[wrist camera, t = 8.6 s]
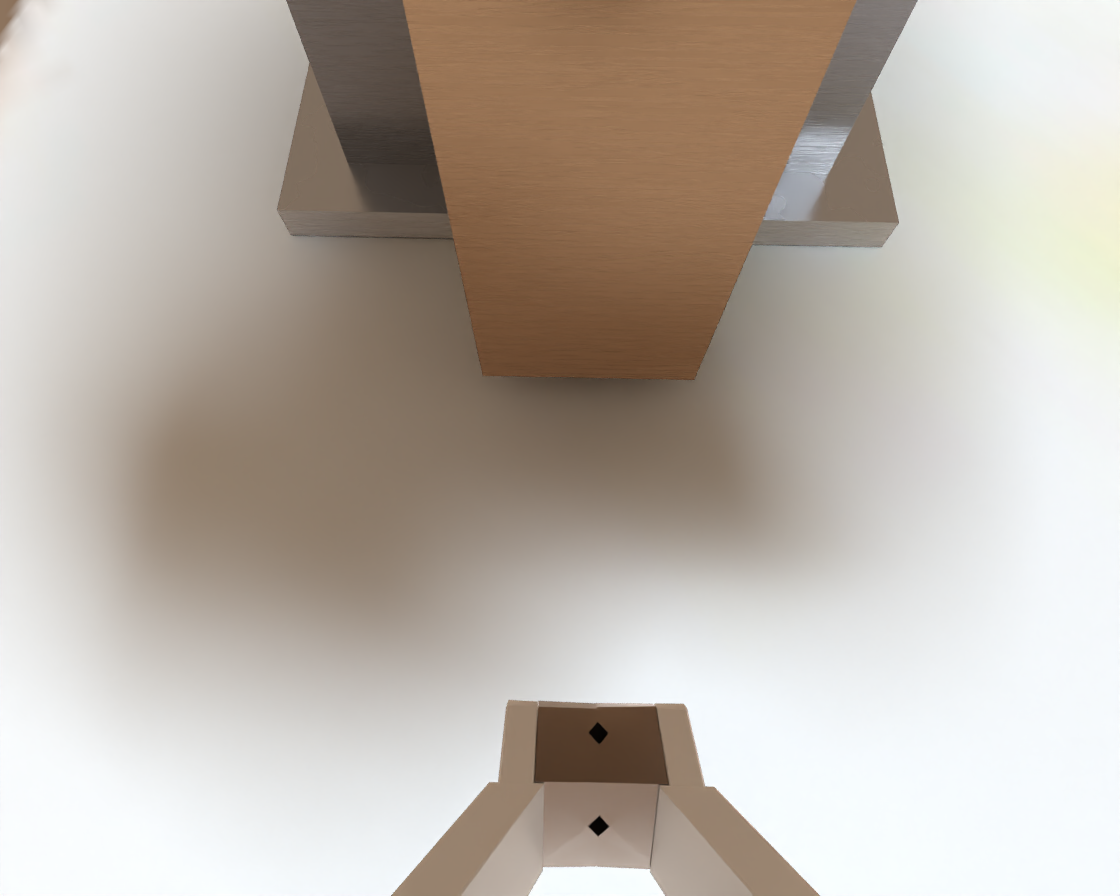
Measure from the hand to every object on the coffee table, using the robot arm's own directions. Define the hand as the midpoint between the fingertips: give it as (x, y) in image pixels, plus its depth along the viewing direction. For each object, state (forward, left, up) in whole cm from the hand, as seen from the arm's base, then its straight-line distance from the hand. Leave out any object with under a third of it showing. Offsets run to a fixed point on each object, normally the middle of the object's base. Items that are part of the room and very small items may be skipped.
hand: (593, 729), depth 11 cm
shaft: (-8, -18, -4) cm, 20 cm away
